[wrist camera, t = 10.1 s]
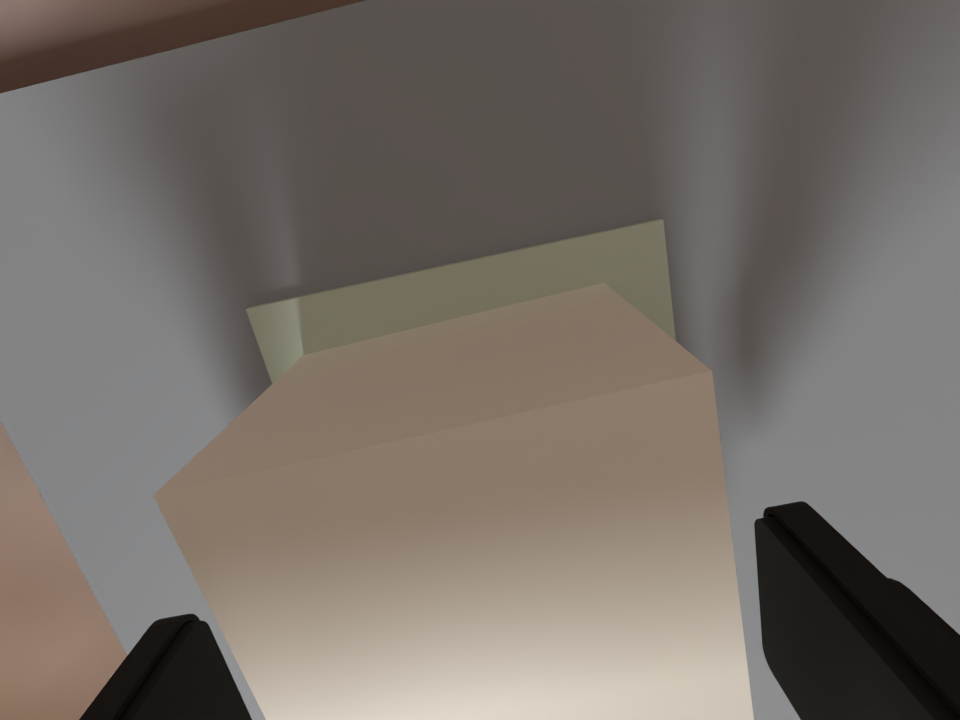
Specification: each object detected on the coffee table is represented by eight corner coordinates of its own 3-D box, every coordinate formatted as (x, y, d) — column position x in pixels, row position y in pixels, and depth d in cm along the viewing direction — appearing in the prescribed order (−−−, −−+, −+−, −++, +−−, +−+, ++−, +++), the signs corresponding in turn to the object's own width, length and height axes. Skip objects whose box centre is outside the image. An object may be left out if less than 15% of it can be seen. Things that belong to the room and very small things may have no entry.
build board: (914, 717, 15) (955, 768, 14) (253, 811, 17) (232, 866, 15) (960, -125, 9) (1040, -178, 8) (-86, 138, 11) (-168, 132, 9)
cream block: (668, 646, 13) (777, 921, 8) (426, 690, 13) (394, 974, 8) (603, 282, 10) (711, 371, 5) (303, 354, 10) (152, 495, 6)
